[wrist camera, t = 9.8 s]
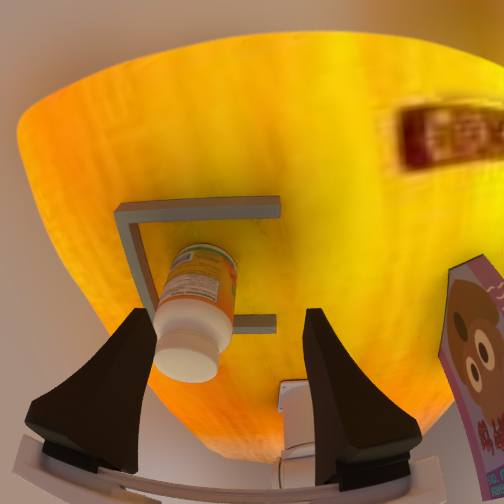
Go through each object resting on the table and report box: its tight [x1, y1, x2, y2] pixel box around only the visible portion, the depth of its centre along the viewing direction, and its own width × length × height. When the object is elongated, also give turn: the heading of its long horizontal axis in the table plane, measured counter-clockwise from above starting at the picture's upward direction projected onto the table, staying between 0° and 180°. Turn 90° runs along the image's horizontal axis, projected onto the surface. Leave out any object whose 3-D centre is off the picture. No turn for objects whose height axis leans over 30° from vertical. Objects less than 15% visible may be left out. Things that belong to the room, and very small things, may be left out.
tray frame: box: [113, 196, 281, 334], centre depth 24 cm, size 13×12×2 cm
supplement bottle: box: [153, 244, 237, 383], centre depth 20 cm, size 5×5×10 cm
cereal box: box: [438, 254, 504, 501], centre depth 18 cm, size 17×5×24 cm, turn 23°
